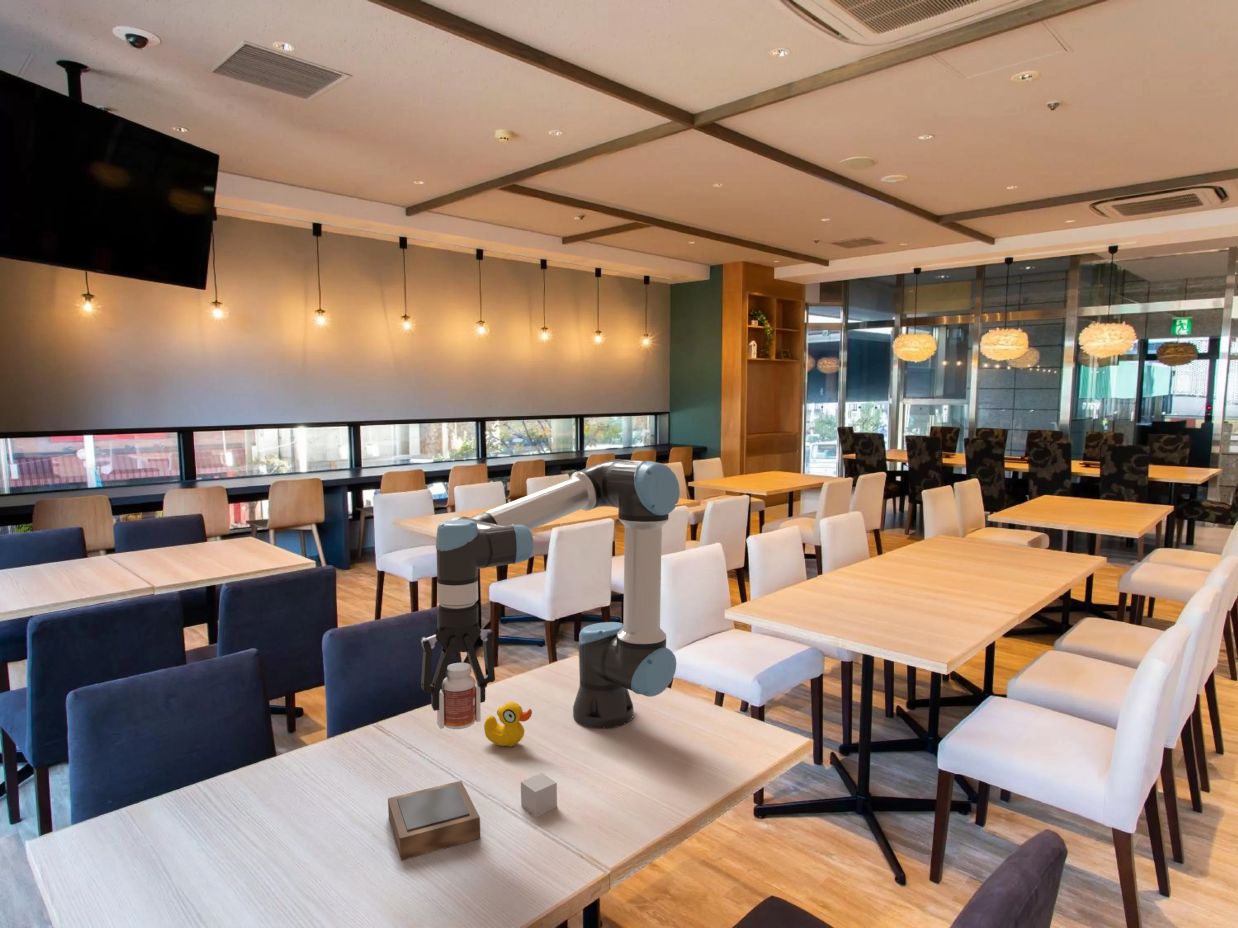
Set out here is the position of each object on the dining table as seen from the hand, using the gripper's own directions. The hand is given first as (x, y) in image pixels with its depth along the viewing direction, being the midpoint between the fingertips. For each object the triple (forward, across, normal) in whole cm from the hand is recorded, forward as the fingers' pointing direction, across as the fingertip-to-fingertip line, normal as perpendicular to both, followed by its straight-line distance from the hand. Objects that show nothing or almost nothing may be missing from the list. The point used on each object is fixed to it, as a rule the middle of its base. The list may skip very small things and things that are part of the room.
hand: (458, 721), depth 137 cm
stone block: (+18, -14, +5) cm, 24 cm away
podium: (+18, +6, +3) cm, 19 cm away
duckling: (+18, -16, -22) cm, 33 cm away
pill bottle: (+1, 0, 0) cm, 1 cm away
